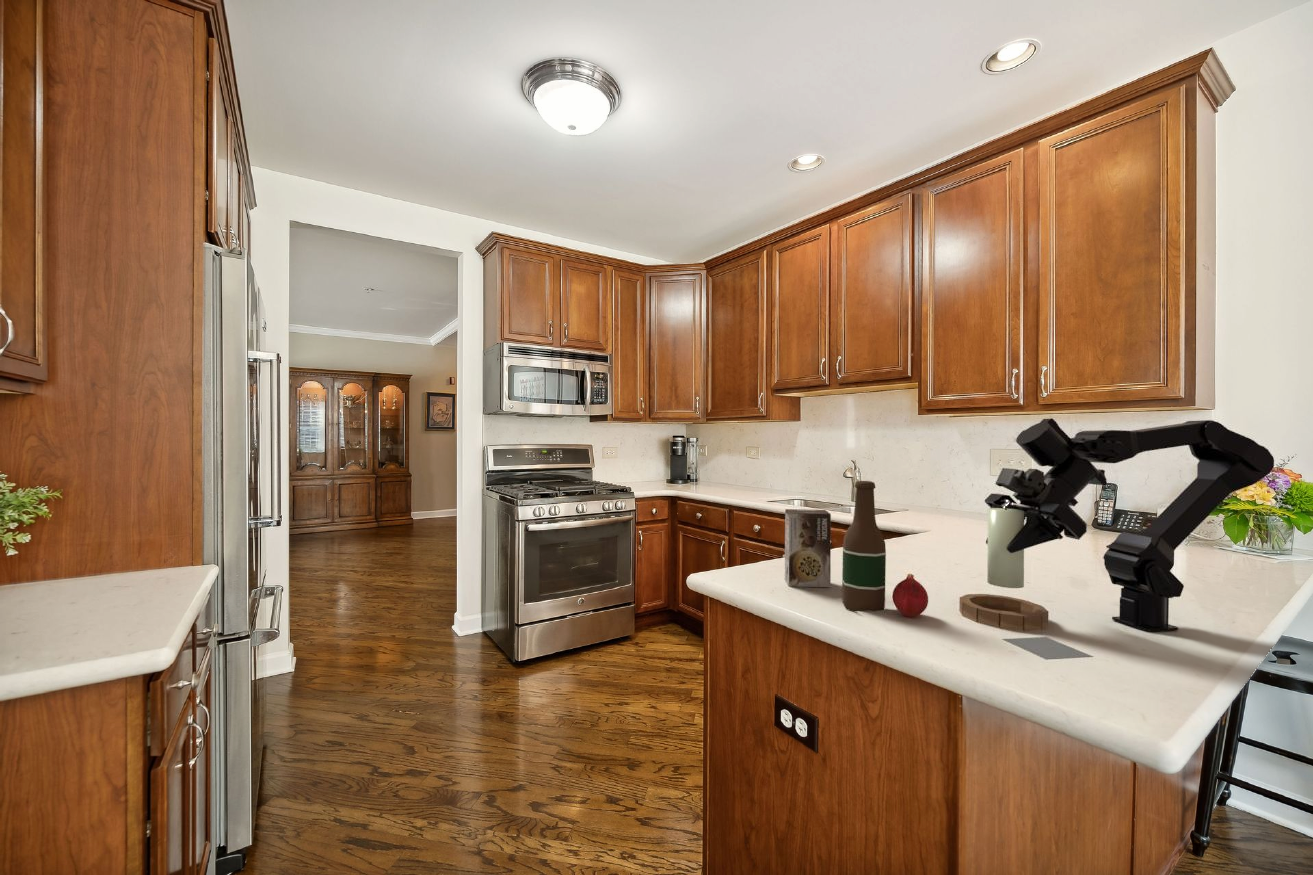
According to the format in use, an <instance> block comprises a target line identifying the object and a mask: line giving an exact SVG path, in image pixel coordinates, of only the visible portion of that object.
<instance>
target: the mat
mask: <svg viewBox="0 0 1313 875" xmlns="http://www.w3.org/2000/svg"><path fill="white" fill-rule="evenodd" d="M1002 640H1003V641H1005V642H1007V643H1010V644H1011V645H1013V646H1016V647H1018V648H1020V649H1023V650H1025V651H1027V652H1029V653H1031V654H1033V655H1036V656H1038V657H1039V658H1042V659H1044V660H1059V659H1077V658H1093V657H1094V656H1093V655H1091V654H1088V653H1086V652H1083V651H1081V650H1078V649H1076V648H1074V647H1071V646H1068V645H1066V644H1064V643H1062V642H1060V641H1057V640H1054V639H1052V638H1049V637H1047V636H1042V637H1041V636H1038V637H1016V638H1002Z"/></svg>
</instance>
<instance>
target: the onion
mask: <svg viewBox="0 0 1313 875" xmlns="http://www.w3.org/2000/svg"><path fill="white" fill-rule="evenodd" d="M892 602H893V604H894V606H895V608H896V609H897V610H898V612H899V613H900V614H902V615H903V616H904V617H907V618H916V617H918V616H919V615H921V614H922V613H923V612H925V611H926V609H927V607H928V604H929V595H928V592H927V590H926V589H925V587H924V586H923V585H922V584H921V583H920V581H918V580H916V579H915V574H912V573H908V574H907V575H906V578H905V579H903V580H901V581H899V583H897V584H896V585H895V587H894V589H893V591H892Z"/></svg>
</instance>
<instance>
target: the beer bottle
mask: <svg viewBox="0 0 1313 875" xmlns="http://www.w3.org/2000/svg"><path fill="white" fill-rule="evenodd" d="M854 488H856V489H855V498H854V499H855V501H854V510H853V511H854V513H853V520H852V523H851V524H850V525H849V527H848V528H847V530H846V532H845V534H844V535H843V536H844V537H843V542H842V543H843V544H842V572H841V573H842V574H841V575H842V581H841V583H842V584H841V595H842V596H841V598H842V600H841V601H842V605H843V607H844V608H845V610H848V609H849V610H848V611H851V610H853V611H852V612H854V611H856V612H877V611H885V605H886V571H887V570H886V565H887V564H886V562H887V558H886V557H887V550H886V540H885V538H884V534H883V533H882V531H881V530H880V528H879V527H878V525H877V520H876V511H875V510H876V509H875V508H876V506H875V489H876V484H875V482H874V481H872V480H871V481H869V480H857V481H855V483H854Z"/></svg>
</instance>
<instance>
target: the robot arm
mask: <svg viewBox="0 0 1313 875" xmlns="http://www.w3.org/2000/svg"><path fill="white" fill-rule="evenodd" d="M1015 443H1016V444H1018V446H1019V447H1021V449H1022V450H1023V451H1024V452H1025V453H1026V454H1028V455H1029V457H1030V458H1031V459H1032V460H1033V461H1034V462H1035V463H1036V465H1038V466H1040V467H1049V468H1050V467H1051V468H1050V469H1049V470H1048V471H1047V472H1046V473H1045V472H1044V471H1042V470H1040V469H1038V468H1028V469H1027V470H1026V471H1025V470H1023V469H1017V468H1016V469H1015V468H1008V467H1007V468H1005V467H1003V468H1001V470H1000V473H999V475H998V477H997V480H996V481H995V485H996V486H997V487H1000V488H1001V487H1002V488H1005V489H1007V490H1009V491H1011V492H1013V494H1012V496H1013V497H1014V498H1015V499H1016V501H1015V499H1013V498H1012V497H1011V495H1008V494H1003V493H990V494H989V495H988V496H987V497H986V498H985V499H984V503H986V505H987V506H988V507H989V508H1005V505H1007V509H1017V510H1023V511H1024V521H1025V523H1024V526H1023V527H1022V529H1021V530H1020V531H1019V532H1018V533H1017V535H1016V536H1015V537H1014V538H1013V540H1012V541H1011V542H1010V544H1009V545H1008V547H1007V550H1008V551H1009V552H1010V553H1014V552H1017V551H1020V550H1023V549H1024V550H1025V549H1028V548H1031V547H1035V546H1037V545H1042V544H1044V543H1049V542H1052V541H1055V540H1062V539H1063V538H1064V536H1065V537H1066V538H1070V539H1072V540H1073V539H1074V540H1077V541H1078V540H1080V539H1081V538H1082V537H1083V536H1084V535H1085V534H1086V533H1087V532H1088V530H1087V529H1088V527H1087V526H1088V524H1087V523H1086V521H1085V520H1083V518H1082V517H1081V516H1080V515H1079V514H1078V513H1077V512H1076V511H1075V510H1074V509H1073V508H1072V507H1075V506H1076V505H1077V504H1079V501H1077V499H1076V497H1077V496H1078V495H1079V494H1080V493H1081V492H1082V491H1083V490H1084V489H1085V488H1086V487H1087V486H1088V485H1095V486H1107V485H1108V482H1107V477H1106V475H1105V472H1106V471H1105V470H1104V469H1099V468H1098V469H1097V468H1096V466H1095V465H1094V463H1097V464H1117V463H1120V462H1123V461H1127V460H1129V459H1132V458H1134V457H1135V456H1137V455H1139V454H1141V453H1145V452H1151V451H1157V450H1164V449H1169V448H1178V447H1185V446H1188V447H1189V450H1190V452H1191V455H1192V456H1193V457H1194V458H1196V459H1197V460H1198V462H1197V464H1196V468H1197V470H1196V471H1197V472H1196V473H1197V474H1196V477H1195V479H1194V480H1192V482H1191V483H1190V484H1189V485H1188V486H1187V487H1186V488H1185V489H1184V490H1183V491H1182V492H1181V493H1180V494H1179V495H1178V496H1177V497H1176V498H1175V499H1173V501H1172V502H1171V503H1170V504H1169V505H1168V506H1167V507H1166V508H1165V509H1164V510H1163V511H1161V513H1160V514H1159V515H1158V516H1156V518H1155V519H1154V520H1153V521H1152V522H1151V523H1150V524H1149V525H1148V526H1146V528H1145V529H1144V530H1143V531H1142V532H1139V533H1131V532H1127V531H1122V532H1121V533H1119V534H1118V536H1117V537H1116V538H1115V540H1114V541H1112V542H1111V543H1109V544H1108V545H1106V549H1107V550H1106V551H1105V553H1104V554H1103V556H1102V558H1103V560H1104V561H1103V563H1104V564H1103V565H1104V567H1105V570H1106V572H1107V573H1108V577H1109V578H1110V582H1111V584H1113V585H1117V586H1121V588H1120V597H1119V615H1118V616H1112V617H1111V619H1112V621H1115V622H1119V623H1121V624H1123V625H1124V624H1125V625H1127V626H1130V627H1133V628H1136V629H1139V630H1142V631H1145V632H1166V631H1178V630H1179V627H1178V626H1176V625H1172V624H1169V618H1170V617H1169V608H1170V607H1169V606H1170V604H1169V603H1170V599H1173V598H1180V597H1181V596H1182V593H1183V590H1184V587H1185V586H1184V583H1182V581H1181V580H1179V578H1177V576H1175V574H1174V573H1173V572H1172V569H1173V567H1174V565H1175V550H1176V549H1177V548H1178V547H1179V546H1180V545H1181V544H1182V543H1183V542H1184V541H1186V539H1188V537H1189V536H1190V535H1191V534H1192V533H1193V532H1194V531H1195V530H1196V529H1197V528H1198V527H1199V526H1200V525H1201V524H1202V523H1203V522H1204V521H1205V520H1206V519H1207V518H1208V517H1209V516H1210V514H1212V513H1213V512H1214V511H1215V510H1216V509H1217V508H1218V507H1219V506H1220V505H1221V504H1222V502H1223V501H1224V500H1226V499H1227V498H1228V497H1229V496H1230V495H1231V494H1232V493H1234V492H1237V491H1239V490H1242V489H1247V488H1248V487H1250V486H1251V487H1252V486H1254V485H1256V484H1257V483H1259V481H1261V480H1262V479H1264V478H1266V477H1267V476H1268V475H1270V473H1271V472H1272V471H1273V469H1274V466H1275V458H1274V456H1273V454H1272V453H1271V452H1270V450H1269V449H1268V448H1267V447H1265V446H1264V445H1261V444H1259V443H1258V442H1256V441H1255V440H1254V439H1253V438H1252V439H1251V438H1250V437H1247V436H1245V435H1243V434H1240V433H1238V432H1235V431H1233V430H1231V429H1228V428H1227V427H1226V426H1224V425H1223V424H1222V423H1220V422H1219V421H1214V420H1213V419H1208V420H1207V419H1206V420H1204V419H1203V420H1187V421H1185V422H1182V423H1176V424H1169V425H1168V424H1167V425H1162V426H1156V427H1155V426H1153V427H1148V428H1142V429H1134V430H1123V429H1122V430H1121V429H1120V430H1119V429H1118V430H1116V429H1110V430H1109V429H1108V430H1107V429H1106V430H1104V429H1103V430H1101V429H1100V430H1099V429H1098V430H1082V431H1079V432H1077V433H1075V436H1074V437H1070V436H1069V435H1068V434H1067V433H1066V432H1065V431H1064V430H1063V429H1062V428H1061V427H1060V426H1059V424H1058V423H1057V421H1055V419H1054V418H1042V420H1041V421H1040V422H1038V423H1036V424H1033V425H1031V426H1029V427H1028V428H1026V429H1023V430H1022V431H1021V432H1020V433H1019V434H1018V435H1017V437H1016V439H1015ZM1017 501H1019V503H1017ZM1061 533H1063V535H1064V536H1063V535H1062V534H1061ZM985 544H986V545H987V546H988V537H987V538H986V540H985Z"/></svg>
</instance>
